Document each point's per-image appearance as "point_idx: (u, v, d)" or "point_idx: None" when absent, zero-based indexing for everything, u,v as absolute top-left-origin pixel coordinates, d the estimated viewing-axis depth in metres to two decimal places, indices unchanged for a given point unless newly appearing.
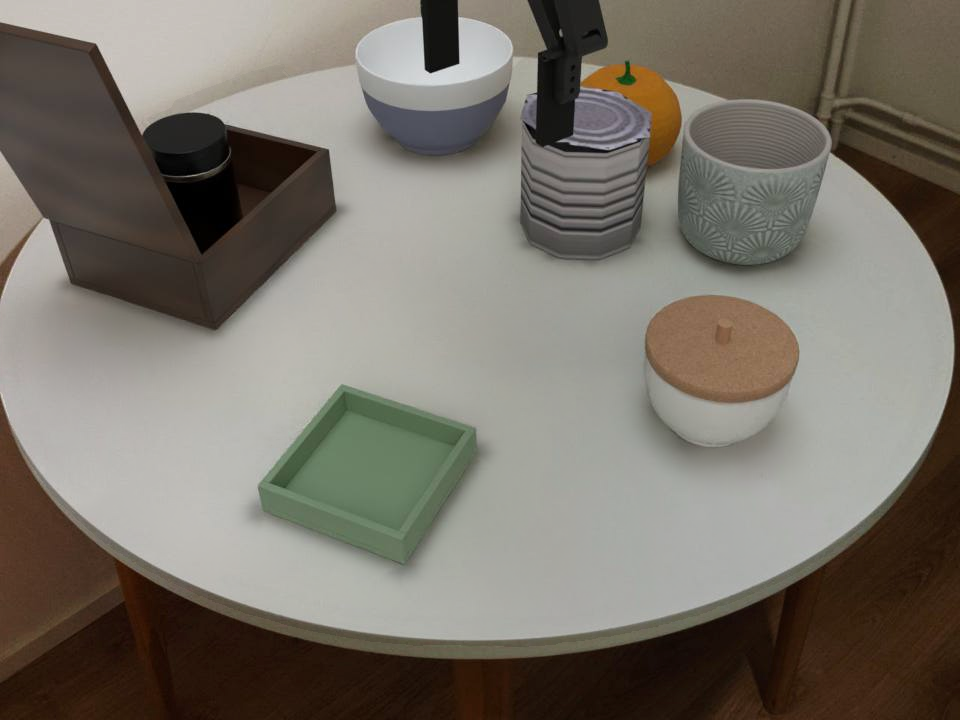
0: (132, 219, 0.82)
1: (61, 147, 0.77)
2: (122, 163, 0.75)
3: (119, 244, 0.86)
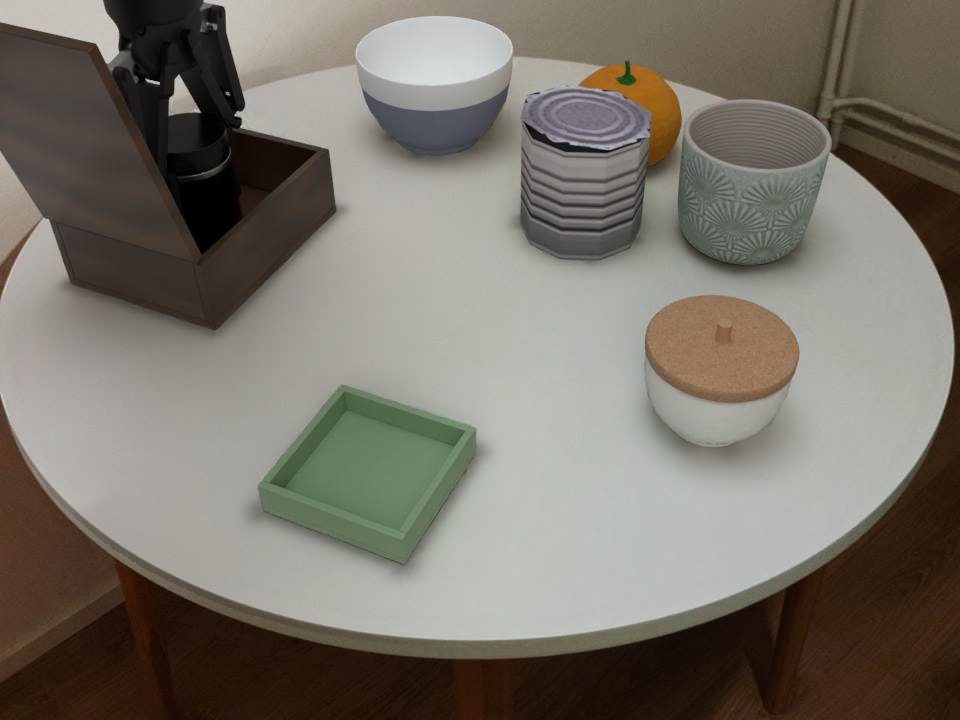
0: (132, 219, 0.82)
1: (61, 147, 0.77)
2: (122, 163, 0.75)
3: (119, 244, 0.86)
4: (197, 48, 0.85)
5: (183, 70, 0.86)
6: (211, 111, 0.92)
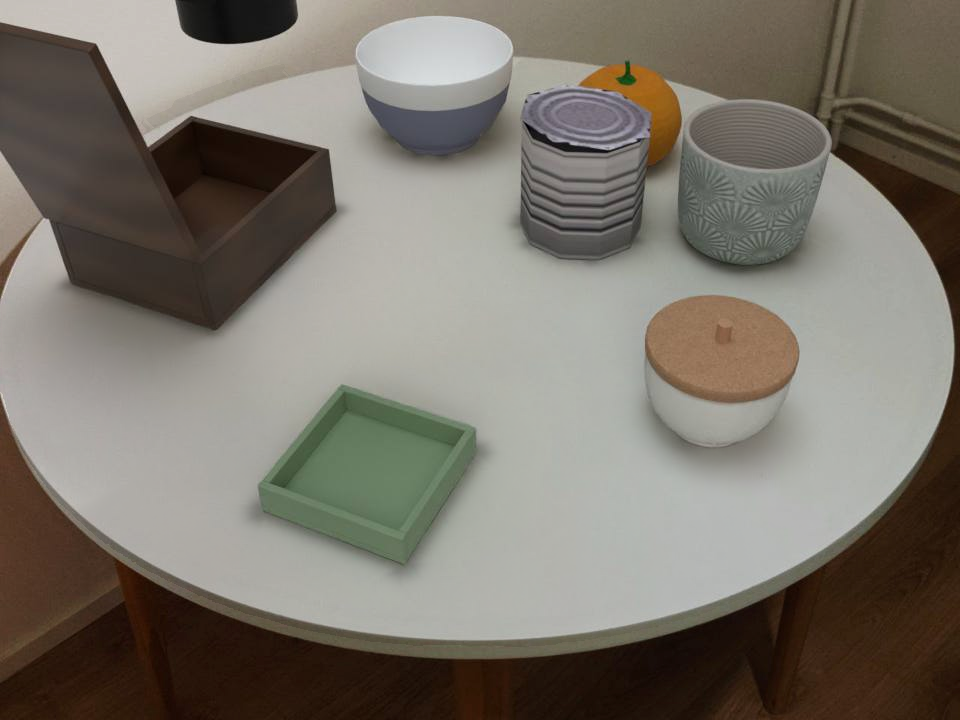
0: (132, 219, 0.82)
1: (61, 147, 0.77)
2: (122, 163, 0.75)
3: (119, 244, 0.86)
4: None
5: None
6: None
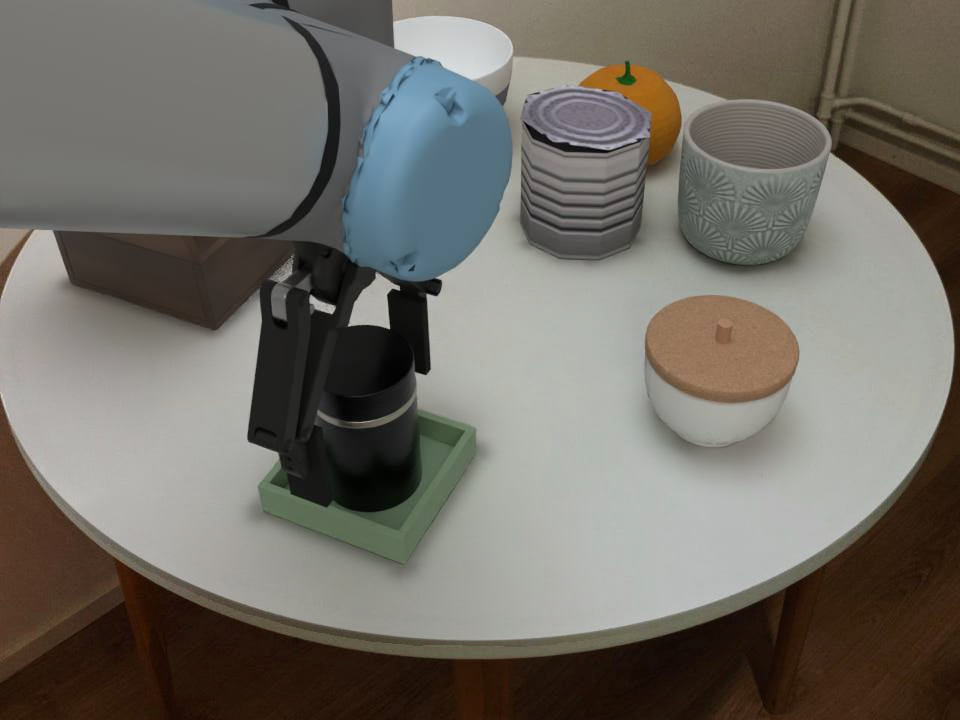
0: None
1: None
2: None
3: (119, 244, 0.86)
4: None
5: (366, 285, 0.64)
6: (404, 284, 0.70)
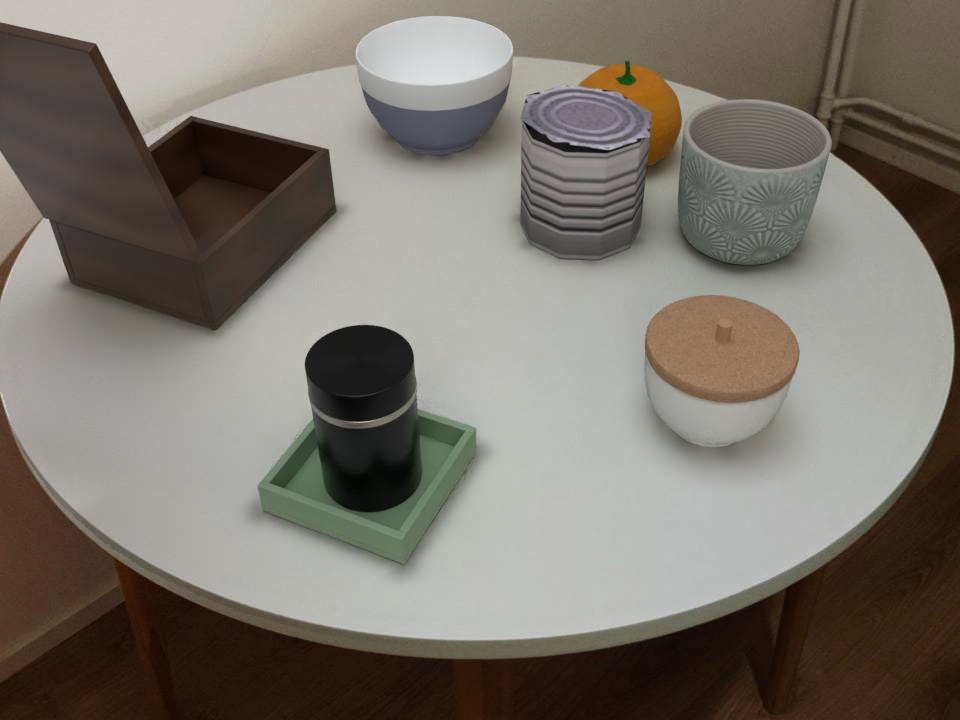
0: (132, 219, 0.82)
1: (61, 147, 0.77)
2: (122, 163, 0.75)
3: (119, 244, 0.86)
4: None
5: None
6: None
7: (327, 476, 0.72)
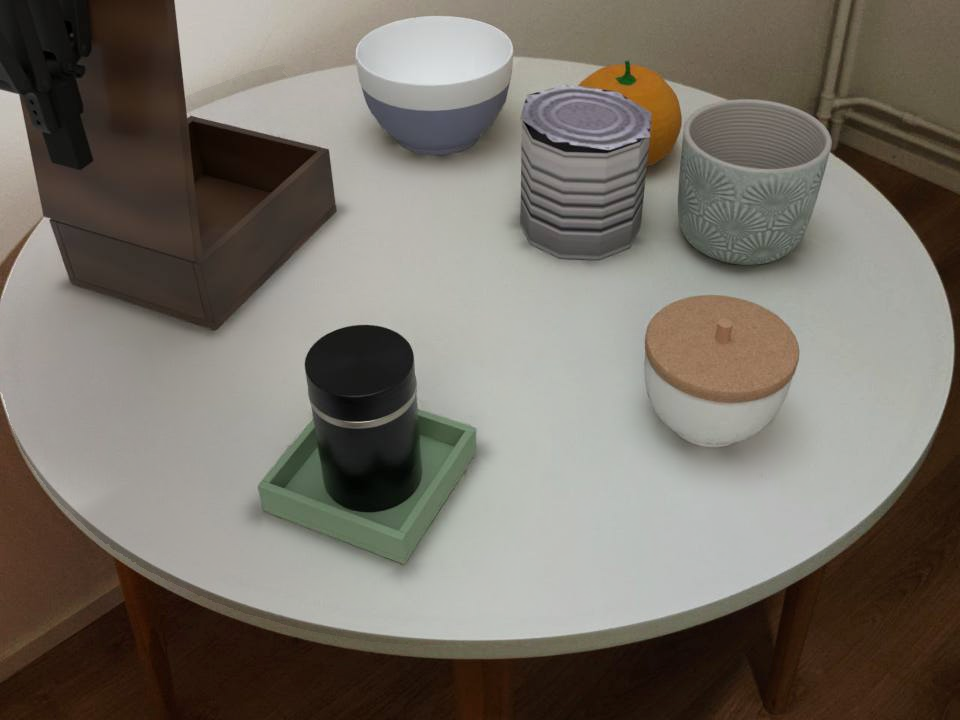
0: (143, 207, 0.82)
1: (96, 118, 0.80)
2: (156, 133, 0.78)
3: (119, 244, 0.86)
4: None
5: None
6: (47, 48, 0.73)
7: (327, 476, 0.72)
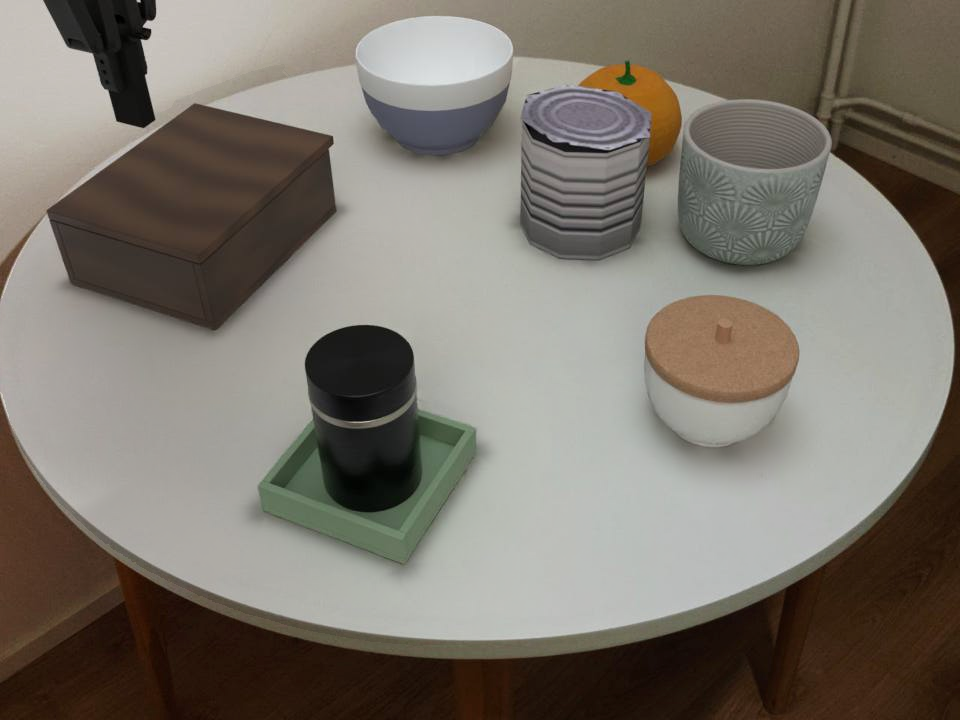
0: (178, 218, 0.87)
1: (194, 171, 0.92)
2: (247, 185, 0.90)
3: (119, 244, 0.86)
4: None
5: None
6: (117, 11, 0.78)
7: (327, 476, 0.72)
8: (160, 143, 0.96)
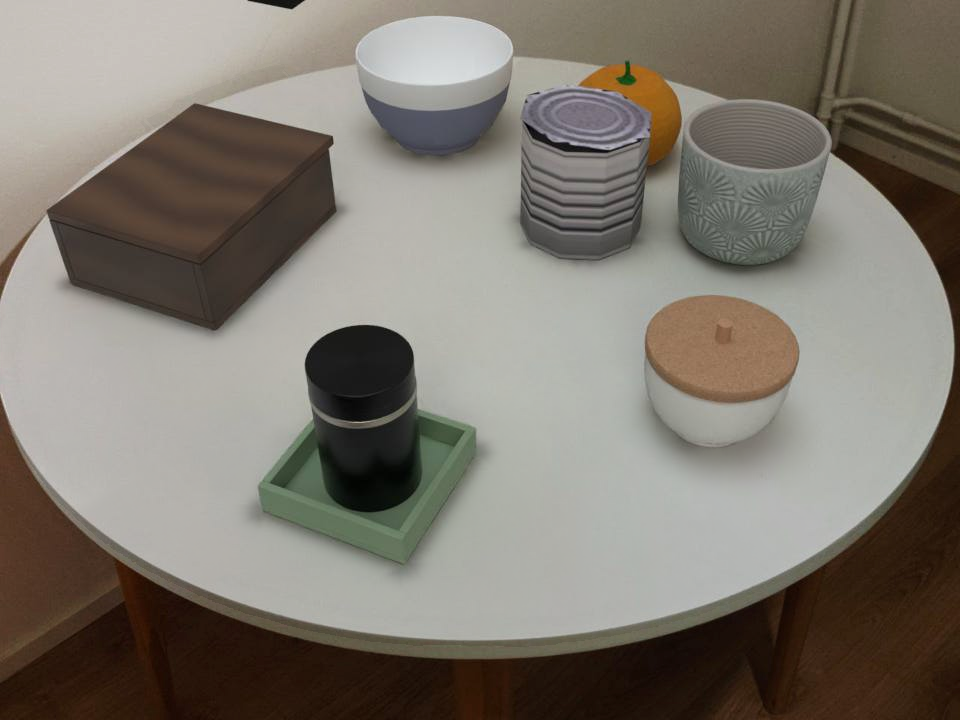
0: (178, 218, 0.87)
1: (194, 171, 0.92)
2: (247, 185, 0.90)
3: (119, 244, 0.86)
4: None
5: None
6: None
7: (327, 476, 0.72)
8: (160, 143, 0.96)
